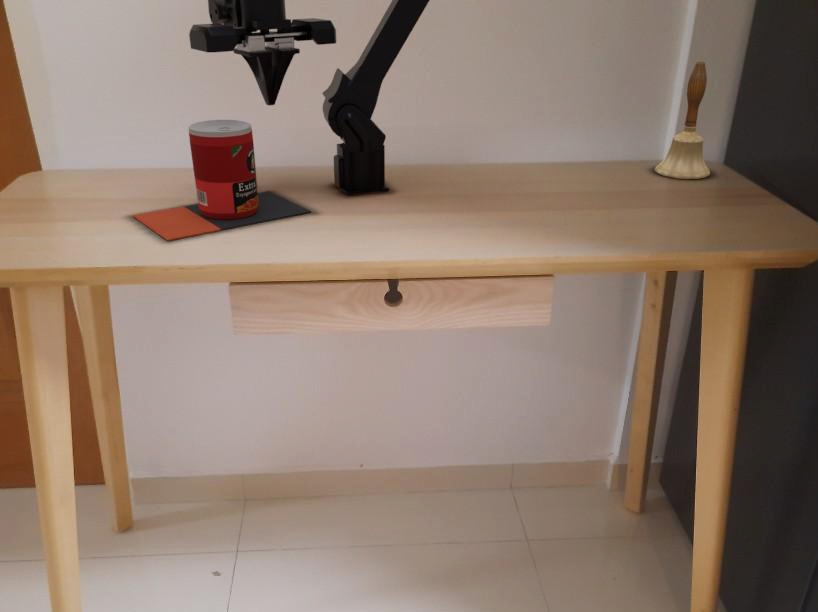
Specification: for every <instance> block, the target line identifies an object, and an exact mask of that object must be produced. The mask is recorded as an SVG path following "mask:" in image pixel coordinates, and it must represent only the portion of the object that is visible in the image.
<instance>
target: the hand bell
mask: <svg viewBox="0 0 818 612" xmlns="http://www.w3.org/2000/svg"><path fill="white" fill-rule="evenodd" d="M707 76H708V75H707V68H706V62H704V61H696V62H695V64H694V68H693V69H692V71H691V74H690V76H689V79H688V82H687V89H686V100H687V109H686V110H687V111H686V116H685V121H684V127H683V131H682V132H680V133H677V134H676V135H674V136H673V137H672V140H671V144H670V147H669V149H668V152H667V154H666V156H665V157H664V159H663V160H662V161H661V162H659V163H658V164H657V165H656V166H655V167H654V172H655V173H656V174H658V175H660V176H663V177H667V178H671V179H678V180H699V179H700V180H701V179H705V178H708V177H710V175H711V172H710V169H709V167H708V166H707V164H706V163H705V159H704V138H703V137H702V136H701V135H699V134H698V133H697V120H698V114H699V108H700V105H701V103H702V101H703V98H704V96H705V93H706V88H707V84H708V83H707V82H708V81H707V79H708V77H707Z"/></svg>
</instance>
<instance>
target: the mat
mask: <svg viewBox="0 0 818 612" xmlns="http://www.w3.org/2000/svg"><path fill="white" fill-rule="evenodd" d="M258 202H259V205H258V210H257V212H256V213H255V214H253V215H252V216H249V217H245V218H240V219H231V220H220V219H212V218H208V217H206V216H204V215H202V213H201V211H200V209H199V206H198V203H193V204H188V205H184V207H185V208H187V209H189V210H190V211H192V212H194V213H195V214H197V215H198V216H200V217H202V218H203V219H205V220H207V221H208V222H210V223H212V224H213V225H215V226H217V227H218V228H220V229H221V231H226V230H230V229H231V230H232V229H235V228H240V227H245V226H250V225H251V226H252V225H255V224H260V223H265V222H270V221H275V220H280V219H285V218H291V217H296V216H301V215H306V214H311V213H312V210H310V209H308V208H305V207H304V206H302V205H299V204H296V203H295V202H293V201H291V200H289V199H287V198H285V197H282V196H280V195H278V194H276V193H274V192H273V191H270V190H268V191H262V192H258Z"/></svg>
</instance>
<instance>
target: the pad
mask: <svg viewBox="0 0 818 612" xmlns="http://www.w3.org/2000/svg"><path fill="white" fill-rule="evenodd" d="M184 206H185V205H184ZM184 206H178V207H172V208H167V209H161V210H156V211H149V212H143V213H138V214H133V215H132V217H133V218H134V219H135V220H137V221H138V222H140V224H142V225H144V226H145V227H147V228H148V229H150V230H151V231H152V232H153V233H155V234H157V235H158V236H159V237H161V238H162V239H164V240H165V241H166V242H171V241H175V240H180V239H185V238H186V239H187V238H191V237H196V236H201V235H205V234H210V233H211V234H212V233H215V232H220V231H222V230H221V229H220V228H218V227H217V226H215V225H213V224H212V223H210V222H208V221H207V220H205V219H203V218H202V217H200V216H198V215H197V214H195V213H194V212H192V211H190V210H189V209H187V208H185V207H184Z"/></svg>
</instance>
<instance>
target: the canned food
mask: <svg viewBox="0 0 818 612" xmlns="http://www.w3.org/2000/svg"><path fill="white" fill-rule="evenodd" d="M188 136H189V146H190V154H191V161H192V167H193V175H194V182H195V191H196V197H197V204H198V206H199V209H200V211H201V213H202V215H204V216H206V217H208V218H212V219H220V220H231V219H240V218H245V217H249V216H252V215H253V214H255V213H256V212H257V210H258V205H259V202H258V193H259V191H258V180H257V169H256V157H255V156H256V155H255V145H254V135H253V128H252V124H251V123H250V122H246V121H243V120H237V119H210V120H202V121H198V122H195V123H192V124H190V125H188Z"/></svg>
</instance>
